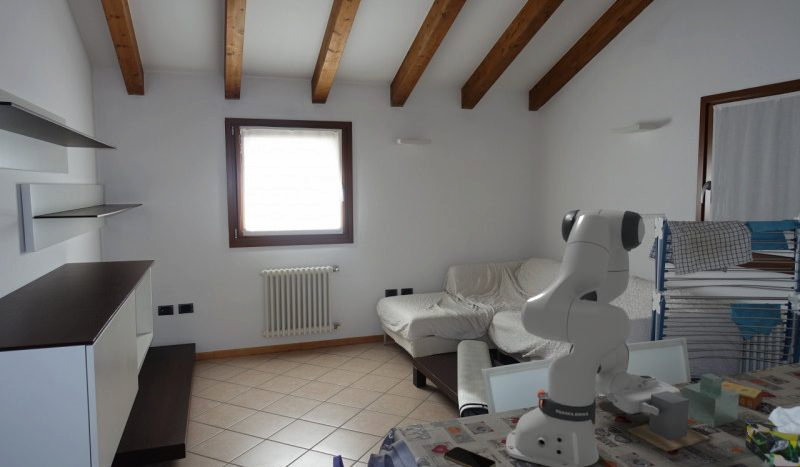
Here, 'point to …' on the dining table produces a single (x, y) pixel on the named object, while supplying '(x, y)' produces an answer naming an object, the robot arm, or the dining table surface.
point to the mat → (664, 443)
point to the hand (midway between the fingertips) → (672, 409)
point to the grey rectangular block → (669, 415)
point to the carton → (745, 394)
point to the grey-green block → (711, 401)
